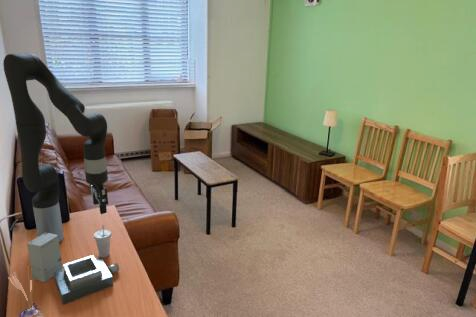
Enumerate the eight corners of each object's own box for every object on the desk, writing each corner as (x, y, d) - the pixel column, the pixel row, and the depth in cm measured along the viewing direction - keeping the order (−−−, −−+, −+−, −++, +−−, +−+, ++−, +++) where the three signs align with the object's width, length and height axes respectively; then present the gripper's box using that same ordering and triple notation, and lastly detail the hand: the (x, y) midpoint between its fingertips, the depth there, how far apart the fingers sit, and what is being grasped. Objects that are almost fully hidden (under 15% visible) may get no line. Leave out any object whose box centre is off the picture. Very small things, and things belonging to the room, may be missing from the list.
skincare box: (45, 283, 119) (39, 247, 113) (32, 279, 120) (25, 243, 115) (63, 268, 126) (59, 234, 121) (50, 265, 128) (45, 230, 123)
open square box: (55, 281, 119) (52, 265, 117) (112, 262, 131) (111, 246, 129) (63, 304, 110) (60, 287, 107) (124, 281, 122) (123, 265, 119)
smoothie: (107, 260, 132) (104, 229, 127) (92, 257, 133) (88, 227, 128) (116, 251, 138) (113, 221, 133) (101, 248, 139) (98, 218, 134)
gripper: (79, 164, 126) (84, 203, 131) (90, 177, 115) (95, 219, 121) (100, 161, 130) (104, 199, 136) (113, 173, 120) (116, 213, 125)
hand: (100, 208), depth 128 cm, fingers open, 8 cm apart
